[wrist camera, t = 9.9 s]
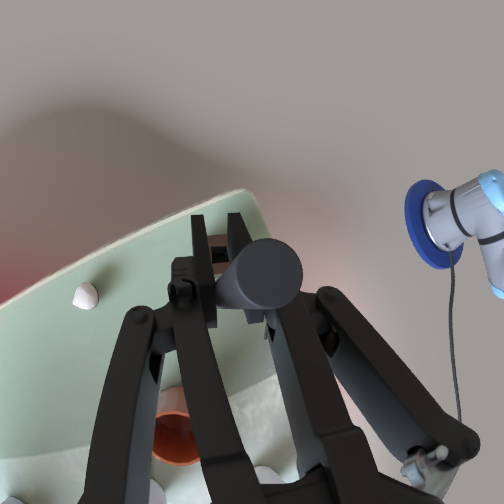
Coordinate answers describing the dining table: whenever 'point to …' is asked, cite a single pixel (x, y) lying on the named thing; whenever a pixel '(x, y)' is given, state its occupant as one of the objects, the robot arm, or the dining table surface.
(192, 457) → the tumbler
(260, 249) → the rod
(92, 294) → the white seashell
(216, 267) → the holder
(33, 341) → the dining table surface
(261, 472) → the foam cup
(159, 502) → the mug
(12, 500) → the cylinder vase
